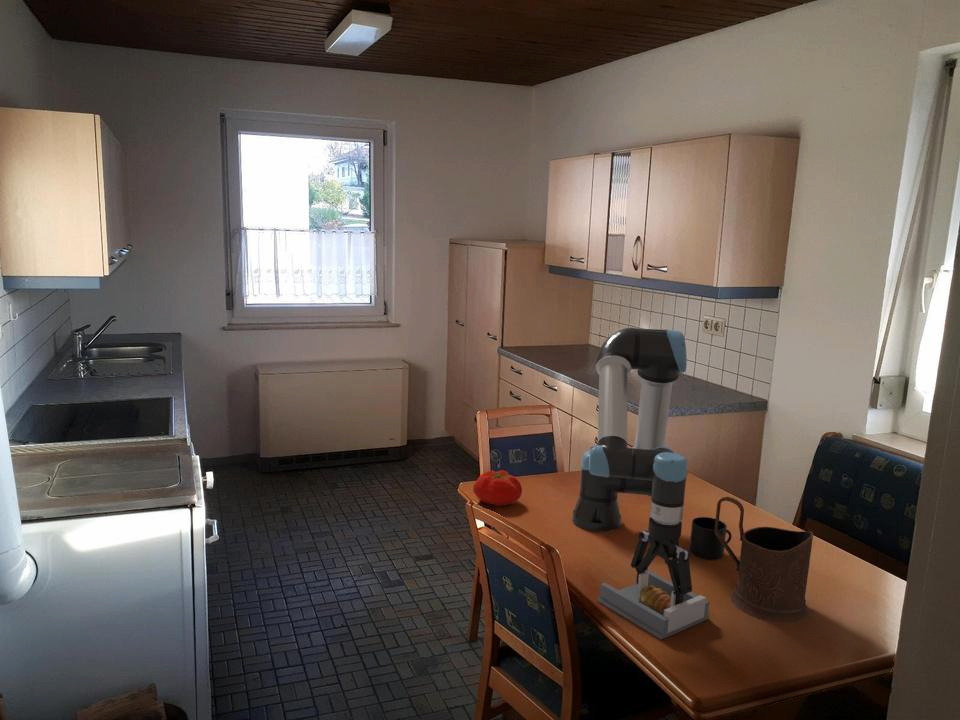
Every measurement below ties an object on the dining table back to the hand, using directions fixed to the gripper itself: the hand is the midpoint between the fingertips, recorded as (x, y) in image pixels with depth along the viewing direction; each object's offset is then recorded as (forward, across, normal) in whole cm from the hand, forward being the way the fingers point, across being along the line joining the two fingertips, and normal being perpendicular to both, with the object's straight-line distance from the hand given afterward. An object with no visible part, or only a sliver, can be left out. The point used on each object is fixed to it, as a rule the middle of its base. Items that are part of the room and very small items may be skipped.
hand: (657, 607), depth 177 cm
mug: (+2, -14, +39) cm, 42 cm away
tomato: (+2, -76, +10) cm, 77 cm away
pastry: (+1, -1, +1) cm, 1 cm away
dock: (+1, -2, 0) cm, 2 cm away
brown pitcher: (+2, +10, +26) cm, 28 cm away
